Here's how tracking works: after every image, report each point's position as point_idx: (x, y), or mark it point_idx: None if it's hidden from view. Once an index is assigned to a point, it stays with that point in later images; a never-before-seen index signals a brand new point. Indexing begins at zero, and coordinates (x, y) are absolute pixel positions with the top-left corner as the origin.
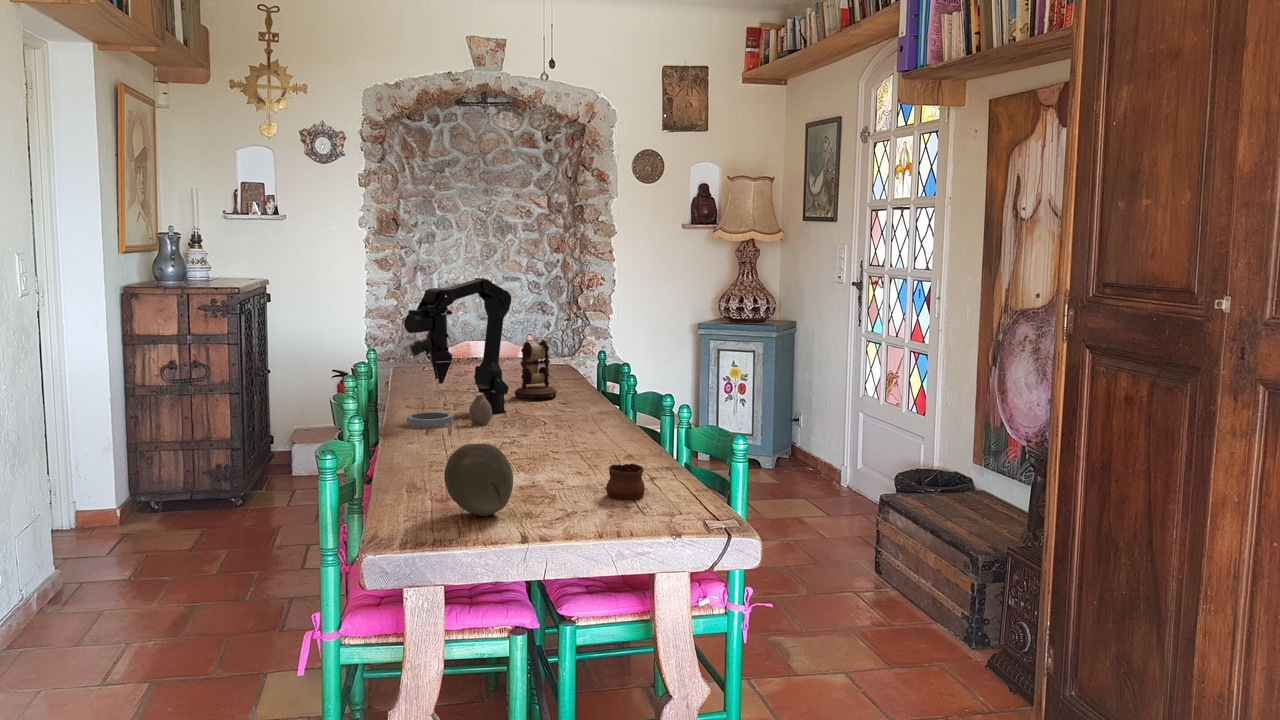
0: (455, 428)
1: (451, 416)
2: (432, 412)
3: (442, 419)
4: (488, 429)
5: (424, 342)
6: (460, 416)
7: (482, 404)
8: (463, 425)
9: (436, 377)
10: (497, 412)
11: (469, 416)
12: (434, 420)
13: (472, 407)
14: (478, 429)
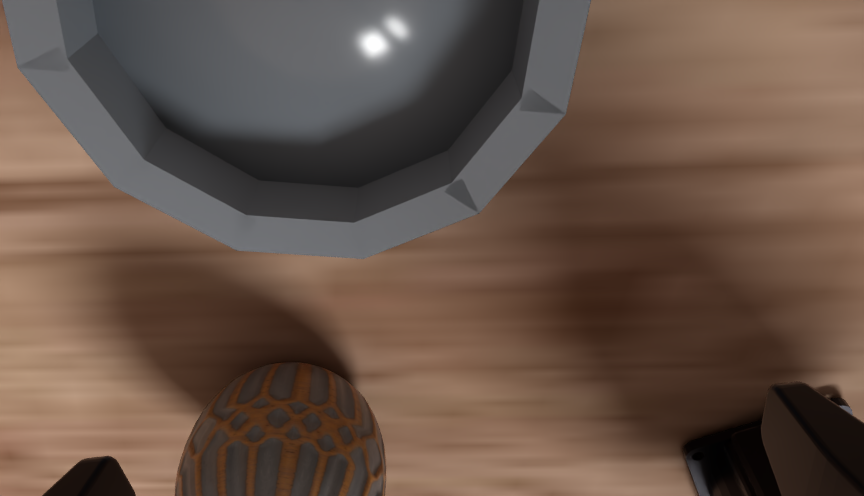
0: (87, 237)
1: (256, 248)
2: (539, 41)
3: (100, 165)
4: (80, 442)
5: None
6: (682, 263)
7: None
8: (236, 293)
9: (779, 416)
10: (698, 492)
11: (269, 383)
12: (33, 81)
13: (199, 480)
14: (69, 389)
